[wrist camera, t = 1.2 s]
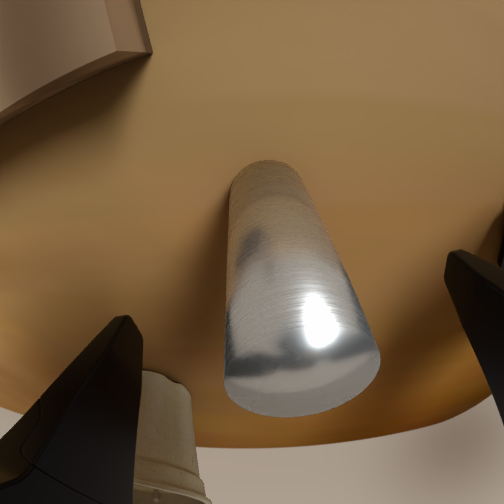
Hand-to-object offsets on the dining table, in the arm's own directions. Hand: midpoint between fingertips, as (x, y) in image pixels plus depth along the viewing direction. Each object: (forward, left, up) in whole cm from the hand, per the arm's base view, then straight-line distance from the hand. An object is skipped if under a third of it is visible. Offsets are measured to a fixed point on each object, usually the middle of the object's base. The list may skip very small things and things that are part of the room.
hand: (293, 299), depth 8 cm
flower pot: (+11, +13, -7) cm, 18 cm away
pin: (0, 0, -7) cm, 7 cm away
